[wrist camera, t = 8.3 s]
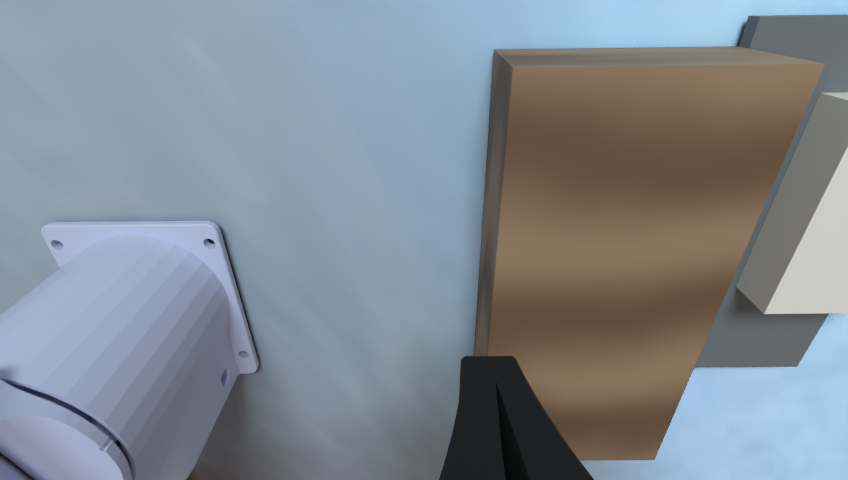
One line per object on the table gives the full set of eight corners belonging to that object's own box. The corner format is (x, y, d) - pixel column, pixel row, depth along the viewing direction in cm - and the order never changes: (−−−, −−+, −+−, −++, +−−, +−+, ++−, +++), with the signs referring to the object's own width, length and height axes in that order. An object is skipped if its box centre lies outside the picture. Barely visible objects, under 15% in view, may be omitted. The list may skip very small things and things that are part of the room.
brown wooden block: (623, 395, 26) (654, 459, 22) (471, 397, 26) (478, 460, 22) (738, 46, 16) (825, 63, 12) (493, 49, 16) (513, 67, 13)
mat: (789, 358, 24) (796, 366, 23) (635, 359, 24) (639, 367, 24) (989, 12, 15) (1009, 13, 15) (748, 16, 15) (759, 17, 15)
